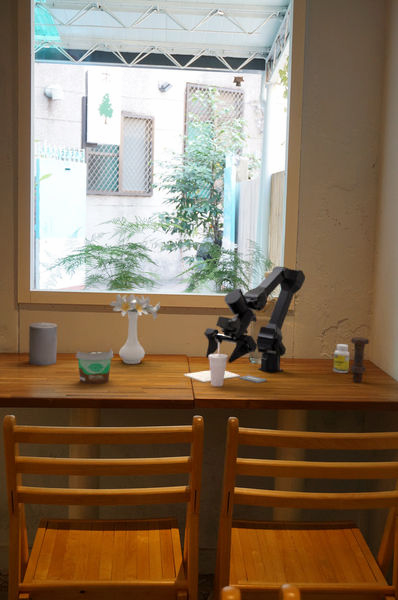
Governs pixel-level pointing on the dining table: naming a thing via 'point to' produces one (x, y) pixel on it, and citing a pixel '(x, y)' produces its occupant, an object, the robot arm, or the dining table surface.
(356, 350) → the bolt
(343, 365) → the supplement bottle
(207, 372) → the paper
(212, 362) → the smoothie
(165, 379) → the dining table surface
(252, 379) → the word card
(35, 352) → the pillar candle
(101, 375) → the food container
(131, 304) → the flower vase
